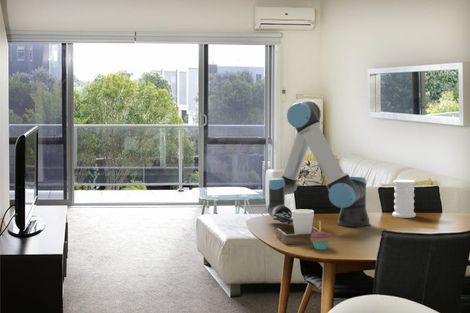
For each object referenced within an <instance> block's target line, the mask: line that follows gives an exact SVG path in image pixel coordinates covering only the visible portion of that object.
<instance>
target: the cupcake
mask: <svg viewBox="0 0 470 313" xmlns="http://www.w3.org/2000/svg"><path fill="white" fill-rule="evenodd" d="M318 228H319V229H318V230H319V232H315V233H313V234H312V235H311V238H310V240H311V241H312V242H313V243H312V245H313V247H314V249H315V250H321V251H322V250H323V251H324V250H327V248H328V244H329V242H330V241H331V240H332V236H331V235H330V233H328V232H327V231H326V232H325V231H322V222H321V220H318Z"/></svg>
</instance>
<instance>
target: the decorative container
mask: <svg viewBox="0 0 470 313" xmlns="http://www.w3.org/2000/svg"><path fill="white" fill-rule="evenodd" d="M415 184H416V180H413V179H394V180H393V185H394V187H393V188H394V189H393V190H394V193H393V196H394V200H393V203H394V205H393V208H394V211H393V212H392V217H395V218H403V219H405V218H406V219H408V218H409V219H410V218H415V217H416V216H417V214H416V212H415V211H414V210H415V205H414V203H415V199H414V198H415V187H414V186H415Z"/></svg>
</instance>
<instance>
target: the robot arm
mask: <svg viewBox="0 0 470 313" xmlns="http://www.w3.org/2000/svg"><path fill="white" fill-rule="evenodd" d="M321 112H322V111H321V109H320V107H319V105H318V104H316V103H315V102H314V101H310V100H309V101H297V102H295V103H292V104H291V105H290V106H289V107H288V109H287V112H286V118H287V122H288V123H289V125H290V126H292V127H293V128H294V129H295V130H296V135H295V137H294V140H293V144H292V147H291V150H290V152H289V154H288V159H287V161H286V165H285V167H284V171H283V174H282V176H281V177H272V178H269V180H268V193H269V194H268V196H269V197H268V198H269V199H268V205H267V207H266V210H267V212H268V214H269V215H270V217H271V218H273V220H274V221H278V222H279V223H283V224H285V223H287V225H293V226H294V224H293V217H292V210H291V209H290V208H289V207H287V206H286V205H285V204H286V203H285V202H286V201H285V200H286V199H285V197H286V196H287V195H291V194H292V193H294V192H295V191H296V190H297V188H298V183H297V181H298V178H299V175H300V173H301V170H302V166H303V164H304V161H305V158H306V155H307V152H308V149H309V150H310V151H311V153H312V155H313V156H314V158H315V160H316V163H317V165H318V166H319V168H320V170H321V172H322V174H323V175H324V178H325V180H326V184H325V187H326V188H327V190H328V198H329V201H330V203H331V204H332V205H334V206H335V207H336V208H339V209H340V211H339V214H338V218H337V225H339V226H342V227H343V226H344V227H357V228H358V227H366V226H369V225H370V217H369V214H368V211H367V208H366V207H367V205H366V204H367V203H366V202H367V181H366V178H365V177H363V176H362V177H360V176H350V175H349V173H347V172H344V171H343V169H342V167H341V165H340V163H339V161H338V159H337V157H336V155H335V153H334V152H333V150H332V148H331V146H330V144H329V143H328V141H327V139H326V138H325V134H324V133H323V132H322V130H321V117H322V116H321V115H322V113H321Z"/></svg>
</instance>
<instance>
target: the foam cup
mask: <svg viewBox="0 0 470 313" xmlns="http://www.w3.org/2000/svg"><path fill="white" fill-rule="evenodd" d="M291 212H292V217H293V224H294V225H293V224H292V225H293V229H294V230H293V231H294V234H311V231H312V227H313V221H314V216H315V210H313V209H307V208H306V209H301V208H300V209H292V210H291Z"/></svg>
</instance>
